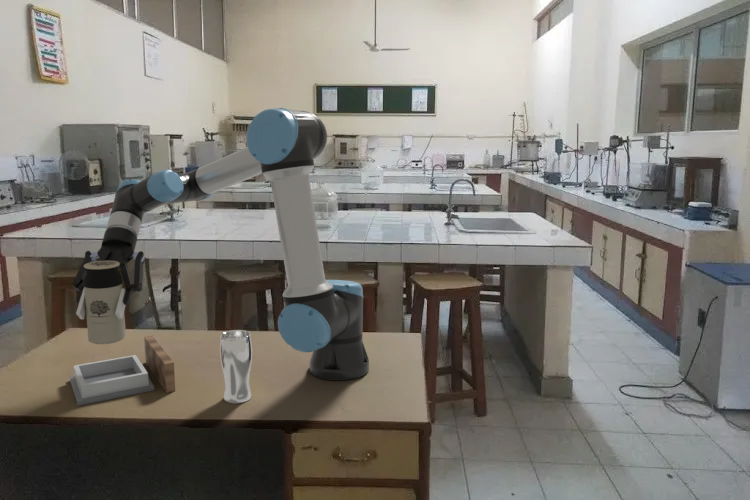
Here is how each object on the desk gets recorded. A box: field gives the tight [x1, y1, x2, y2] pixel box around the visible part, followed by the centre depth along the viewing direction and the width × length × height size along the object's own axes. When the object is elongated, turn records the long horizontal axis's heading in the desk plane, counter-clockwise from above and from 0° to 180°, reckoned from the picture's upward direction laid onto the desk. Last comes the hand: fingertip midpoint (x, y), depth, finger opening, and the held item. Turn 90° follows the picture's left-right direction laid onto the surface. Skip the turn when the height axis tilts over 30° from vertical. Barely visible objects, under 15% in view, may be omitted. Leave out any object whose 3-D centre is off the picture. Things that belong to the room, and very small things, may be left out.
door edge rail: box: [143, 335, 176, 394], centre depth 144 cm, size 22×2×7 cm, turn 33°
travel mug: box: [84, 260, 127, 345], centre depth 136 cm, size 8×8×18 cm
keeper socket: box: [69, 354, 155, 407], centre depth 139 cm, size 16×16×4 cm
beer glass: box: [219, 329, 253, 405], centre depth 132 cm, size 7×7×15 cm
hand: (99, 316), depth 133 cm, fingers closed on travel mug, 8 cm apart
